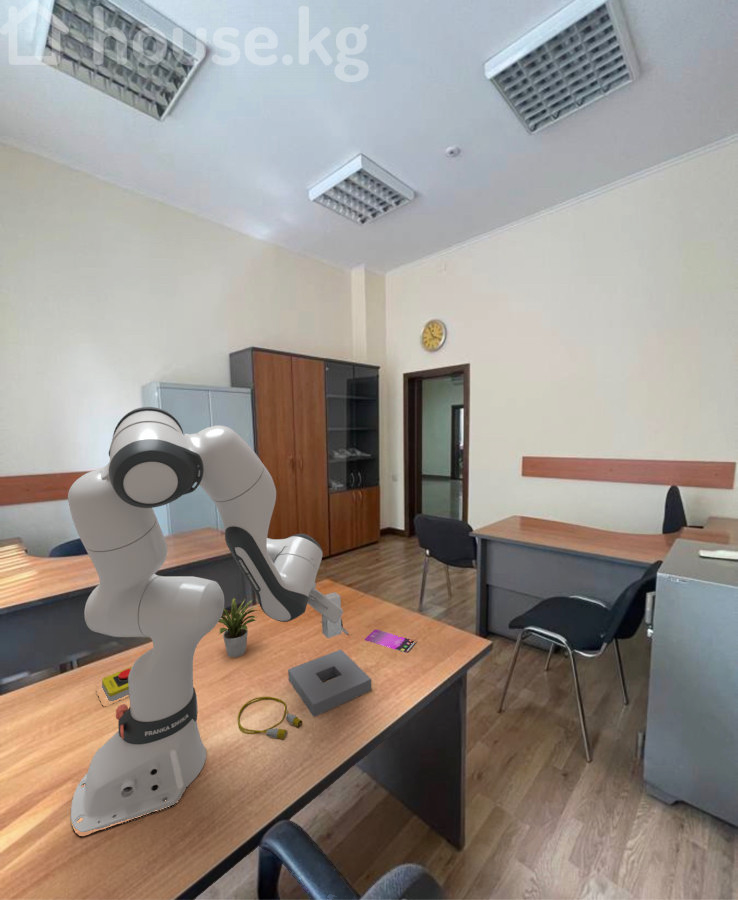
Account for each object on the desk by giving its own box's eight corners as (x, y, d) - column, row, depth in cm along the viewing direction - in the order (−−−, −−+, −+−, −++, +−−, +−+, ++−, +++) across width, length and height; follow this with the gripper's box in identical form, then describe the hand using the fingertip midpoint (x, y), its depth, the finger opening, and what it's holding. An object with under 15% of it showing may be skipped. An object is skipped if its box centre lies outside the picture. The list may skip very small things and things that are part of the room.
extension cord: (251, 758, 81) (250, 748, 80) (231, 712, 94) (230, 704, 93) (305, 731, 87) (305, 722, 87) (279, 692, 100) (279, 684, 100)
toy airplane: (338, 640, 124) (338, 633, 123) (310, 614, 141) (310, 607, 141) (358, 632, 128) (358, 625, 128) (329, 608, 145) (329, 602, 145)
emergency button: (93, 676, 102) (156, 651, 112) (94, 693, 102) (157, 666, 113) (101, 693, 95) (167, 665, 106) (103, 710, 95) (168, 680, 106)
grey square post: (327, 638, 99) (326, 599, 99) (322, 633, 102) (321, 595, 101) (342, 633, 102) (341, 595, 101) (336, 628, 104) (335, 591, 104)
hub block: (313, 717, 91) (313, 704, 90) (288, 680, 104) (288, 669, 104) (371, 690, 99) (371, 679, 99) (341, 659, 113) (341, 649, 112)
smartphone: (407, 655, 115) (407, 652, 115) (364, 641, 122) (364, 638, 122) (417, 643, 121) (417, 640, 121) (375, 630, 129) (375, 627, 129)
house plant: (239, 674, 107) (236, 616, 106) (199, 665, 112) (195, 610, 111) (269, 645, 121) (266, 594, 120) (231, 638, 125) (229, 589, 124)
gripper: (324, 587, 88) (362, 617, 94) (289, 563, 105) (322, 589, 111) (307, 612, 86) (346, 641, 92) (274, 583, 103) (309, 609, 109)
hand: (333, 612), depth 102 cm, fingers closed on grey square post, 3 cm apart
